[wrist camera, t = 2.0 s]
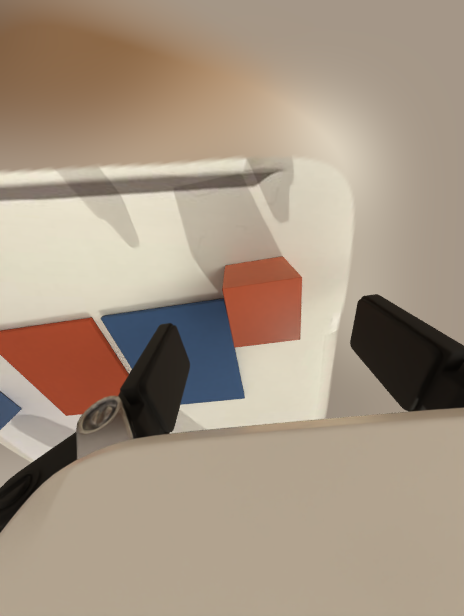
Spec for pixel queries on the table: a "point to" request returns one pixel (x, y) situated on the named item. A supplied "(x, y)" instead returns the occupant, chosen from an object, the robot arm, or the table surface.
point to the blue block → (7, 410)
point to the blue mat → (187, 345)
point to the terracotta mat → (65, 362)
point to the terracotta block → (263, 301)
